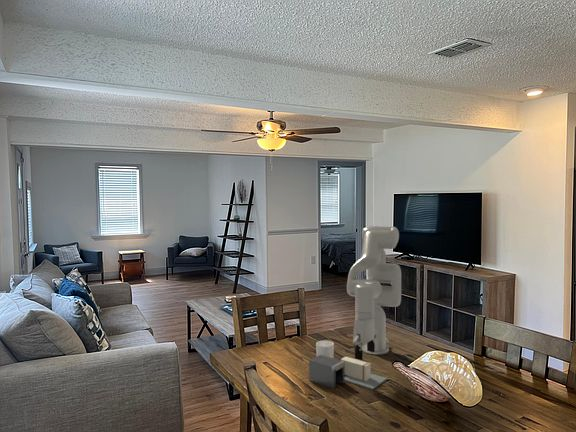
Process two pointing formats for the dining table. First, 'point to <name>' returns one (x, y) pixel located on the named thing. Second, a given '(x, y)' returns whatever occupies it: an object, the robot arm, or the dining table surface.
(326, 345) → the white cup
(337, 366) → the dispenser
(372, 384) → the mat
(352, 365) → the beige block
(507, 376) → the dining table surface
